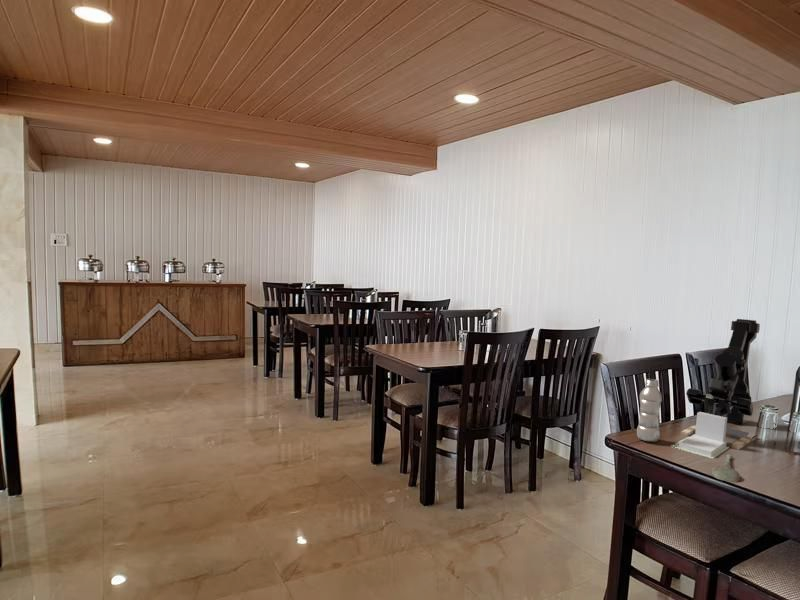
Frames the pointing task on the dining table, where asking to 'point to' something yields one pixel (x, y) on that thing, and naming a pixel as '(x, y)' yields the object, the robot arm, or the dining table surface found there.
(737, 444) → the channel
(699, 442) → the white l-shaped bracket
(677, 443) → the mat
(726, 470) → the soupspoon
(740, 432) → the mat
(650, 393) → the plastic bottle
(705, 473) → the dining table surface
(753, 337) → the robot arm
